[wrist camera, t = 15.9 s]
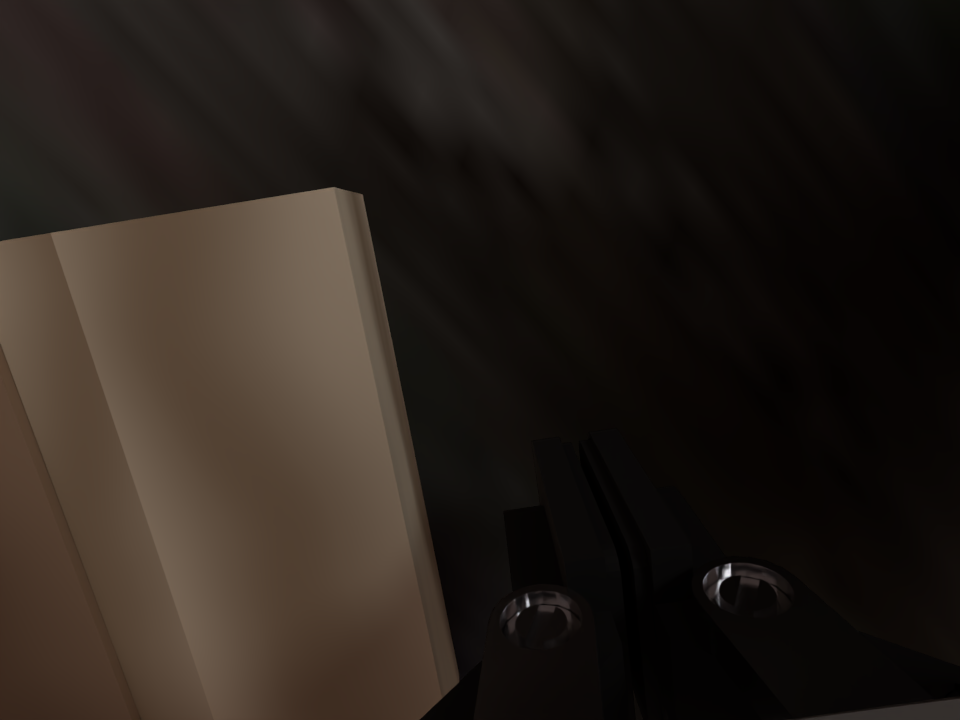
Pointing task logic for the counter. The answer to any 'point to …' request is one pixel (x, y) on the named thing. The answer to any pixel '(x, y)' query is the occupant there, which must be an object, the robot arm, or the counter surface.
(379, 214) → the counter surface
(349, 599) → the maple plank
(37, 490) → the brown grooved flat slab
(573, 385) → the counter surface
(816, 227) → the counter surface
